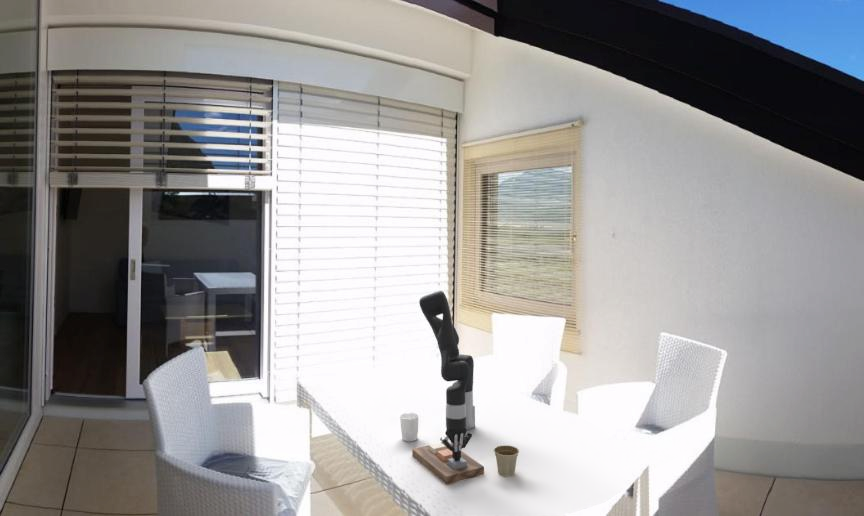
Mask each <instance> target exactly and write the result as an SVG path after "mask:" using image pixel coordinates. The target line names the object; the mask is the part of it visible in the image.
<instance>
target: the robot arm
mask: <svg viewBox="0 0 864 516" xmlns="http://www.w3.org/2000/svg"><path fill="white" fill-rule="evenodd" d="M419 307H420V310H421V312H422V314H423V316H424V318H425V319H426V321H427V323H428V325H429V326H430V328H431V330H432V333H433V334H434V337H435V339H436V341H437V346H438V349H439V353H440V357H441V358H440V360H441V366H440V375H441V378H442V380H444V381H445V382H453V383H452V385H450V386H448V387H447V388H446V389H445V390H446V391H445V395H446V396H445V397H446V398H445V401H446V402H445V403H446V405H445V427H446V430H445V435H444V436H443V437H440V438H439V439H440V441H441V442H443V444H444V445H445V446H446V447H447V448H448V449H449V450H450V451H452V457H453V459H454V460H455V461H459V460H460V459H461V451H462V450H463V449H466V447H467V445H468V444H469V441H470V440H471V438H472V436H473V433H472V432H470V431H468V430H472V429H473V428H474V427H476V406H475V405H474V395H473V394H474V389H473V388H474V366H475V365H474V358H473V356H472V355H470V354H461V353H460V349H459V347H458V346H459V342H460V337H459V334H458V331H457V330H456V328H455V326H454V325H453V322H452V321H453V320H452V319H453V318H452V315H451V309H450V305H449V300H448V297H447V296H446V293H445V292H444V291H442V290H437V291H434V292H432V293H429V294H426V295H424V296H421V297H420V299H419ZM439 315H442V318H440V317H439ZM448 442H449V443H451V445H450V444H449V443H448Z"/></svg>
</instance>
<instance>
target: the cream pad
mask: <svg viewBox="0 0 864 516" xmlns="http://www.w3.org/2000/svg"><path fill="white" fill-rule="evenodd" d="M441 442H442V441H441ZM441 442H440V441H437V442H433V443H428V444H427V445H428V450H429V451H430V452H431V453H433V454H438V451H441V450H446V446H445V445H443V444H442V443H441Z"/></svg>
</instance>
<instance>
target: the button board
mask: <svg viewBox="0 0 864 516" xmlns="http://www.w3.org/2000/svg"><path fill="white" fill-rule="evenodd" d="M441 443H442V444H443V442H442V441H441ZM448 443H449V444H450V445H451V443H450V441H448ZM443 445H444V444H443ZM446 449H448V448H447V447H446ZM411 451H412V453H411V454H412V455H411V456H412V457H413V458H414V459H415V460H416V461H417V462H419V463H420V464H421V465H422V466H423V467H425V468H426V469H427V470H428V471H429V472H431V473H432V474H433V475H434V476H435V477H436V478H438V479H439V480H440V481H441V482H442V483H444V484H445V485H446V486H448V485H450V484H454V483H458V482H462V481H465V480H469V478H470V479H473V478H477V477H480V476H484V475H485V466H484V465H482V464H481V463H480V462H478V461H477V460H475V459H474V458H472V457H471V456H469V455H468V454H466V453H465V452H464V451H463V450H461V457H462V458H463V459H464V460H466V461H467V467H465V468H461V469H457V470H453V469H452V468H451V467H449V466H448V461H446V462H443V461H442V460H440V459H439V458H438V454H433V453H431V452H430V451H429V450H428V444H427V445H423V446H420V447H415V448H412V449H411ZM483 474H484V475H483Z"/></svg>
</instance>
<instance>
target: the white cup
mask: <svg viewBox="0 0 864 516" xmlns="http://www.w3.org/2000/svg"><path fill="white" fill-rule="evenodd" d="M399 418H400V430H401V431H400V432H401V439H402V441H404V440H405V442H414V440H415V441H417V440H418V439H417V438H418V433H419V414H418V413H414V412H407V413H402V414H401V415H400V417H399ZM416 439H417V440H416Z"/></svg>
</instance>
